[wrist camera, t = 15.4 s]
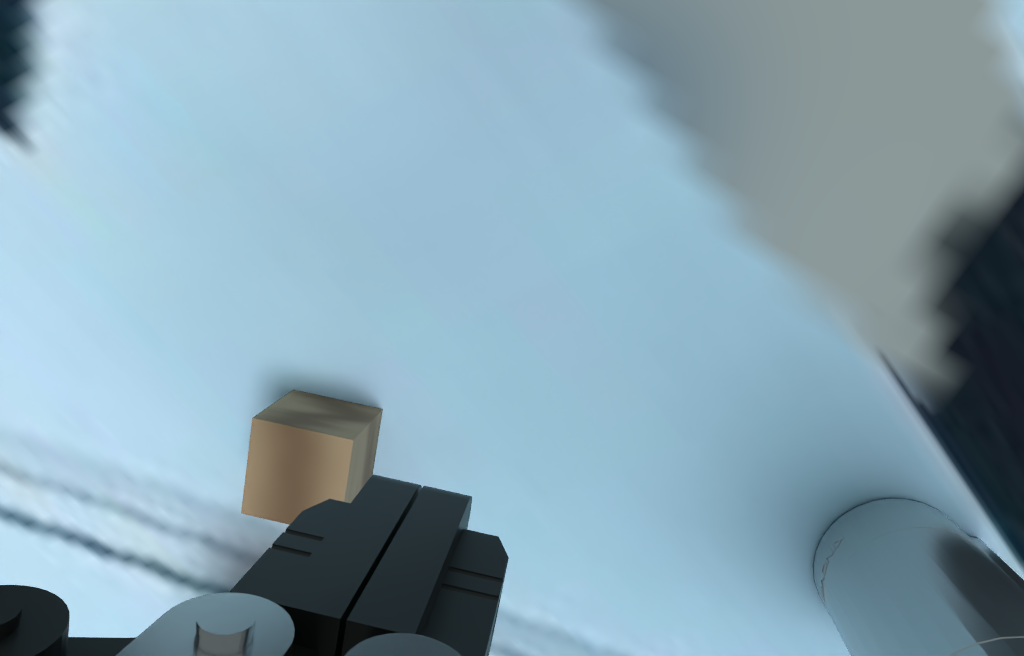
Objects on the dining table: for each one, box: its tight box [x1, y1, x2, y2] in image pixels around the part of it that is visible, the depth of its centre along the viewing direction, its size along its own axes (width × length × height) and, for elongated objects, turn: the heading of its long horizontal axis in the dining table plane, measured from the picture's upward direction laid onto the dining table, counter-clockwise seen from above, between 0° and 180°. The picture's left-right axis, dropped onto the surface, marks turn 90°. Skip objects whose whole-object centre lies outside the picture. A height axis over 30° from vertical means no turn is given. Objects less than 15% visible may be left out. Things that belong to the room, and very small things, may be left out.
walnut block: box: [241, 390, 383, 524], centre depth 46 cm, size 6×6×6 cm
